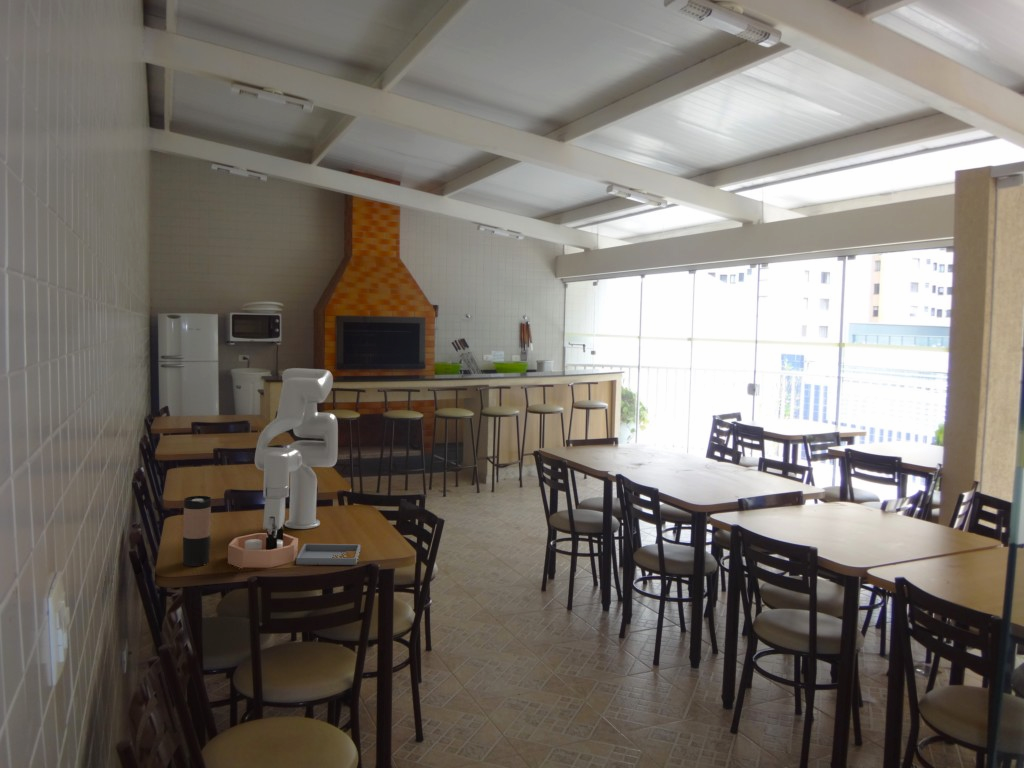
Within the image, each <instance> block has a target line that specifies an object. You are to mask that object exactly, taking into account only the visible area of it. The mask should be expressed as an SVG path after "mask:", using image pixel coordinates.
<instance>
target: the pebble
mask: <svg viewBox="0 0 1024 768" xmlns="http://www.w3.org/2000/svg"><path fill="white" fill-rule="evenodd" d="M280 547H283V541H282V540H277V548H280Z"/></svg>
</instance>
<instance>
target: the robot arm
mask: <svg viewBox="0 0 1024 768" xmlns="http://www.w3.org/2000/svg"><path fill="white" fill-rule="evenodd" d="M281 378H282V387H281V392H280V395H279V403H278V409H277V414H276V417H275V419H273V420H272V421H271V422H270V423H268V424H267V425H266V427H265V428H264V429H263V430H262V431H261V433H260V435H259V436H258V440H257V442H256V449H255V452H254V466H255V467H256V468H257V469H258V470H260V471H263V492H262V493H263V498H265V501H264V509H263V510H264V512H263V525H262V529H263V530H264V531H266V533H267V535H266V550H271V549H276V548H277V540H282V541H283V533H284V526H285V527H286V528H289V529H294V530H309V529H314V528H317V527H319V526H320V525H321V521H320V520H319V519H317V518H316V517H317V496H318V495H317V493H318V492H317V489H318V487H317V486H318V479H317V475H316V473H315V471H314V470H313V469H312V468H313V467H314V468H316V467H317V468H332V467H334V466H335V465H336V464H337V461H338V453H339V452H338V451H339V447H338V445H339V443H338V442H339V427H338V426H339V425H338V419H337V417H336V415H335V414H333V413H331V412H318V404H321V403H324V402H325V401H326V399H327V397H328V396H329V394H330V392H331V391H332V388H333V385H334V384H333V383H334V376H333V374H332V373H331V371H330V370H327V369H321V368H303V367H302V368H301V367H297V368H296V367H292V368H287V369H285V370H284V371H283V372H282V377H281ZM290 430H292V431H293V434H294V436H296V437H298V438H303V439H302V440H296V441H294V442H291V444H290V445H289V447H271V446H269V444H270V442H271V441H272V440H273V439H274V438H276V437H277V436H278V435H281V434H283V433H285V432H288V431H290ZM304 438H305V440H304ZM306 439H307V440H306ZM308 439H322V440H308ZM287 498H289V514H288V515H289V517H288V519H287V520H285V519H286V499H287Z"/></svg>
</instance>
